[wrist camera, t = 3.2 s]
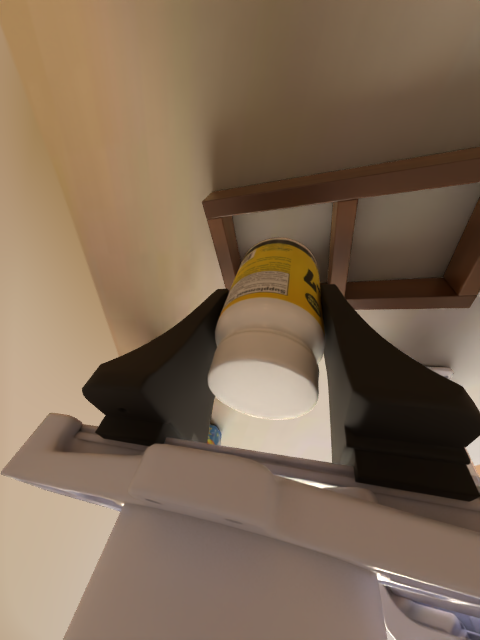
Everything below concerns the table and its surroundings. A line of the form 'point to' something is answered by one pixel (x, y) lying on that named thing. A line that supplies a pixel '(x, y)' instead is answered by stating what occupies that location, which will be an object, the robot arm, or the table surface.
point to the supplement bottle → (270, 334)
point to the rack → (344, 190)
